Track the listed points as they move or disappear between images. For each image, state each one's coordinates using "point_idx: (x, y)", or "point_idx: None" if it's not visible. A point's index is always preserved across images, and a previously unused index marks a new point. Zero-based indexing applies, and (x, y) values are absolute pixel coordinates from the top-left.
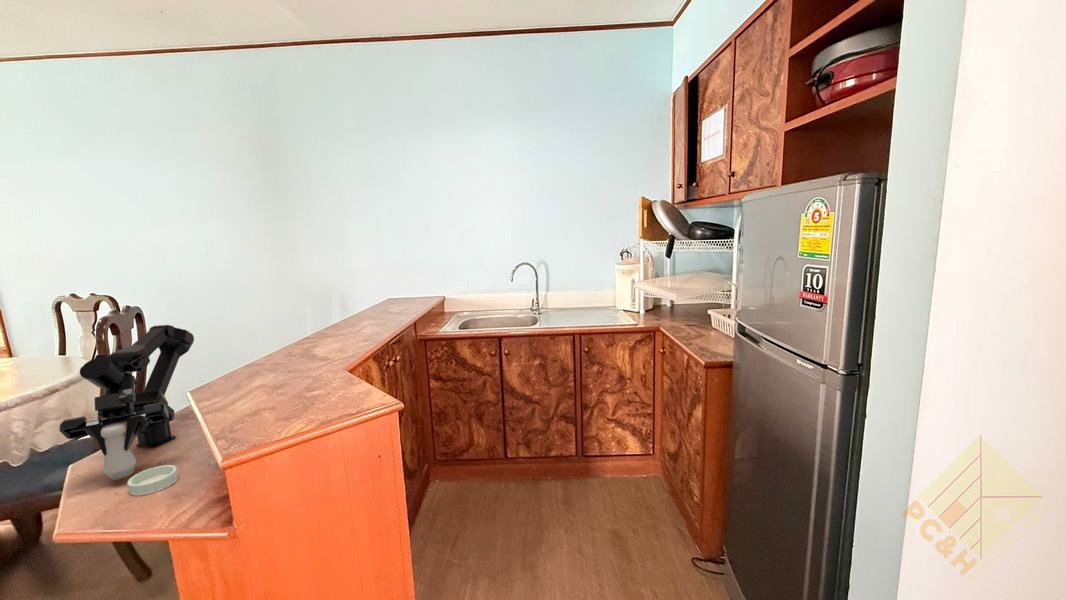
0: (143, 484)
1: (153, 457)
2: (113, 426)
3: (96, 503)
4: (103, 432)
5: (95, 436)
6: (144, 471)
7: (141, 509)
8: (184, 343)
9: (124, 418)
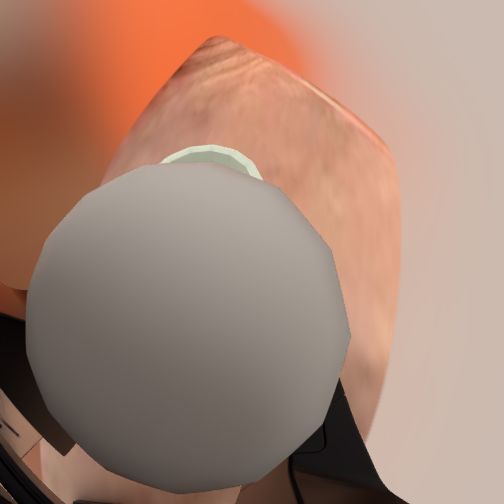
0: (235, 153)
1: None
2: (138, 218)
3: (342, 238)
4: (321, 241)
5: (363, 450)
6: None
7: (268, 117)
8: None
9: (4, 481)
